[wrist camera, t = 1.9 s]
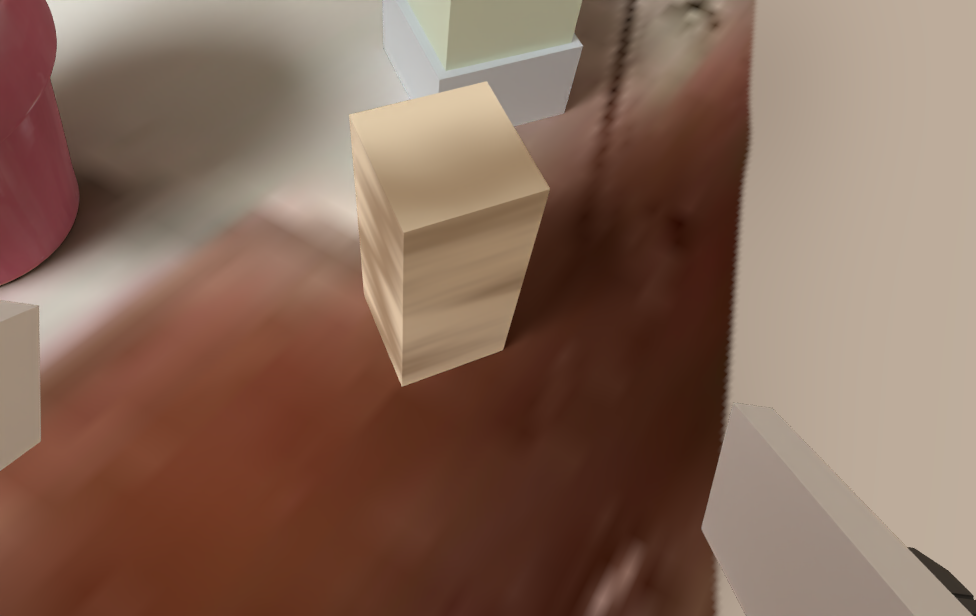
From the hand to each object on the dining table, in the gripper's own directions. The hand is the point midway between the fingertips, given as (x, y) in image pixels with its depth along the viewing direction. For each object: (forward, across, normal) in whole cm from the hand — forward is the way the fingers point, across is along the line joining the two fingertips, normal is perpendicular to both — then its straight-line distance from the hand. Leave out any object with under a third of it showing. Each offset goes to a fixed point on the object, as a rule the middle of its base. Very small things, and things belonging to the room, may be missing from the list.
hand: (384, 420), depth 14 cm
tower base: (+31, 0, +8) cm, 32 cm away
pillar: (+20, 0, -4) cm, 20 cm away
